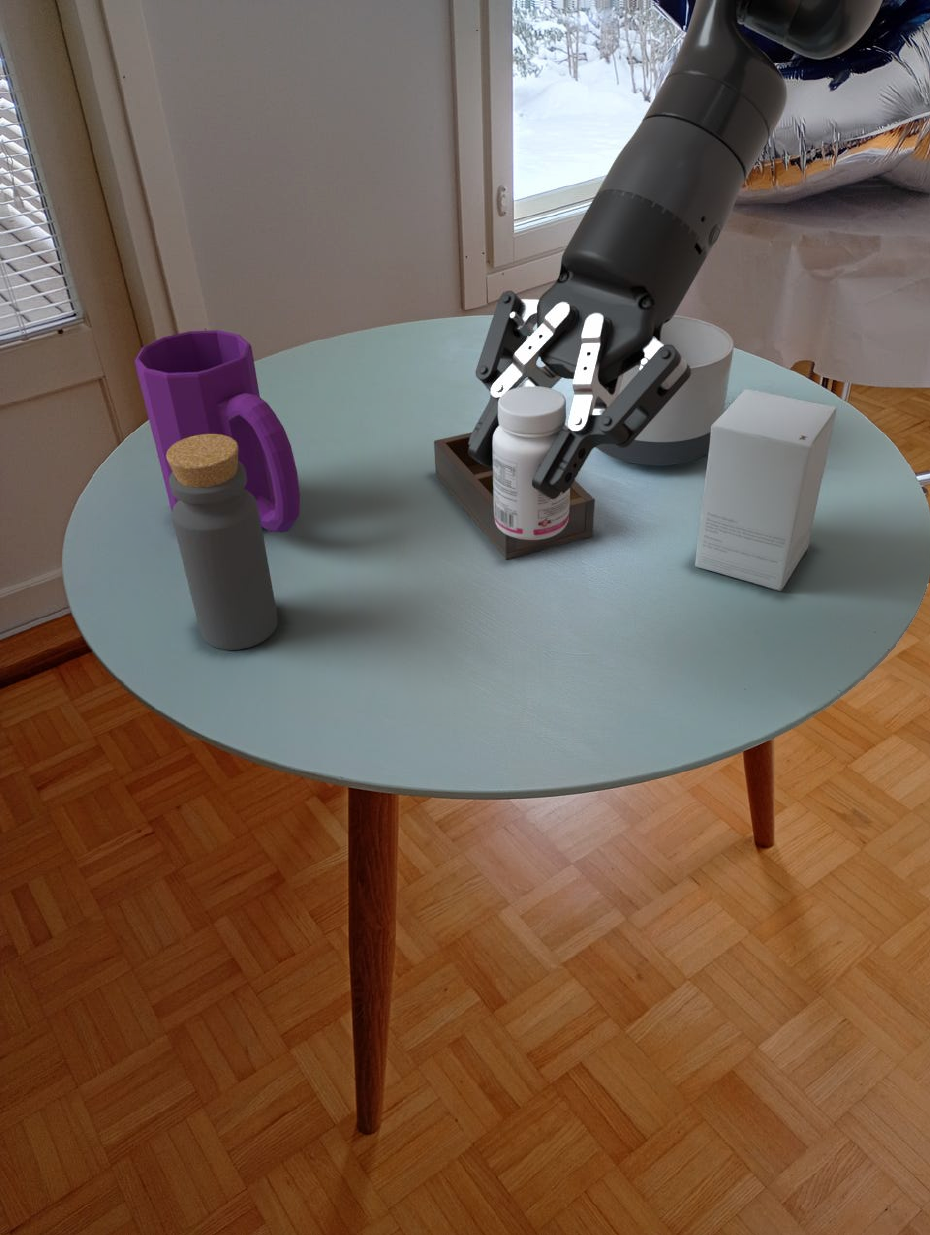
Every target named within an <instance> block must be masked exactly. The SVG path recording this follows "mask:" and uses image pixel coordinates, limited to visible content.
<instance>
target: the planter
mask: <svg viewBox="0 0 930 1235" xmlns="http://www.w3.org/2000/svg"><path fill="white" fill-rule="evenodd" d="M660 342H661V343H663V344H664V345H668V344H669V345H672V346H674V347H675V349H676V350H677V351H678V352H679V353H680V354H681V355H682V357H683V358H684V359H685V360H686V362H687V364H688V365H689V367H690V368H691V375H690V377H689V379H688V380H687V381H686V382H685V383H684V384H683V386H682V387H681V388H680V389H679V390H678V391H677V392H676V393H675V395H674V396H673V397H672V398H671V399H670V400H669V401H668V402H667V404H666V405H665V406H664V407H663V408H662V409H661V410H660V411H659V413H658V414H657V415H656V416H655V417H654V418H653V419H652V420H651V422H650V423H649V424H648V425H647V426H646V427H645V428H644V429H643V431H642V432H641V433H640V434H639V435H638V436H637V437H636V438H635V440H634V441H633V442H632V443H631V444H630V445H629V446H627V447H625V448H620V447H618V446H617V445H615V444H600V445H599V446H597V447H595V448H596V449H597V450H599V451H600V452H602V453H604V454H605V455H607V456H610V457H612V458H614V459H617V460H620V461H623V462H628V463H633V464H639V465H646V466H647V465H648V466H668V465H669V466H670V465H677V464H684V463H687V462H691V461H694V460H697V459H701V458H703V457H705V456H707V455H709V447H710V437H711V426H712V424H714V422H715V421H716V420H717V419H718V418H719V417H720V416H721V415H722V414H723V413H724V412H725V411H726V402H727V397H728V396H727V395H728V390H729V382H730V375H731V370H732V362H733V356H734V348H735V343H734V340H733V337H732V336H731V335H730V334H729V332H727V331H726V330H724V329H723V328H721V327H720V326H717V325H715V324H713V323H711V322H708V321H705V320H702V319H698V318H695V317H689V316H683V315H676V314H674V316H673V317H672V319H671V320H670V321H668V322H667V323H665V324H663V326H662V330H661V340H660ZM640 365H641V364H638V365H637V366H635V367H633V368H632V369H630V370H629V371H627V372H625V373H624V374H623V378H622V383H621V387H620V391H619V394H620V393H621V392H622V391H623V389H624V388H625V387H626V386H627V385H628V384H629V383H630V381H631V380H632V379H633V378H634V377H635V376H636V375H637V373H638V372H639V368H640Z"/></svg>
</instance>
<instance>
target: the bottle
mask: <svg viewBox="0 0 930 1235" xmlns="http://www.w3.org/2000/svg"><path fill="white" fill-rule="evenodd" d="M166 458H167V460H168V463H169V465H170V467H171V469H172V471H173V472H172V473H171V475H170V477H169V484H170V488H171V491H172V494H173V495H174V497H176V498H177V499H178V500H179V501H178V502H177V503H176V505H175V506H174V508H173V511H171V517H172V524H173V528H174V532H175V536H176V539H177V544H178V548H179V552H180V553H179V554H180V556H181V560H182V564H183V568H184V573H185V576H186V577H185V578H186V580H187V585H188V590H189V593H190V598H191V601H192V605H193V610H194V614H195V617H196V622H197V626H198V627H199V633H200V635H201V637H202V639H203V640H204V641H205V642H206V643H207V644H208V645H209V646H211V647H213V648H216V649H220V650H223V651H224V650H225V651H235V650H236V651H237V650H244V649H249V648H251V647H254V646H257V645H259V644H261V643H263V642H265V641H266V640H267V639H268V638H270V637H271V636H272V635H273V633H274V632H275V631H276V629H277V626H278V624H279V623H278V622H279V621H278V620H279V618H278V612H277V604H276V599H275V594H274V588H273V582H272V577H271V571H270V566H269V559H268V555H267V554H268V553H267V550H266V542H265V537H264V532H263V527H262V526H261V521H260V516H259V511H258V506H257V502H256V499H255V498H254V496H253V495H252V494H251V493H250V492H248V491H247V490H245V489H244V487H245V486H246V483H247V475H246V470H245V467H244V465H243V464H242V463H241V462H239V461H238V444H237V442H236V441H235V440H234V439H232V438H230V437H228V436H225V435H220V434H202V435H196V436H191V437H188V438H185V439H182V440H180V441H178V442H176V443H175V444H173V445H172V446H171V447H170V448H169V449H168V451H167V454H166Z"/></svg>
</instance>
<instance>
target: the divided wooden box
mask: <svg viewBox="0 0 930 1235" xmlns="http://www.w3.org/2000/svg"><path fill="white" fill-rule="evenodd" d="M471 433H472V431H471V432H467V433H462V434H458V435H453V436H449V437H445V438H440V439H435V440H433V451H434V452H433V453H434V466H435V467H434V469H435V476H436V478H437V479H438V480H439V481H440V483H442V485H443V486H444V487H445V488H446V490H447V491H448V492H449V493H450V494H451V495H452V496H453V498H454V499H455V500H456V502H458V504H459V505H460V507H461V508H462V509H463V510H464V511H465V512H466V513H467V515H468V516H469V517H470V518H471V519H472V521H473V522H474V523H475V524H476V525H477V527H478V528H479V529H480V530H481V532H482V533H483V534H484V535H485V536H486V537H487V539H488V540H489V541H490V543H491V544H492V545H493V546H494V547H495V548H496V549H497V550H498V552H499V553H500V555H502V557H503V558H504V559H505V560H510V559H513V558H517V557H520V556H524V555H528V554H531V553H535V552H538V551H542V550H547V549H550V548H553V547H557V546H560V545H564V544H569V543H572V542H575V541H578V540H582V539H586V538H591V537H593V536H594V535H593V534H594V518H595V502H596V500H595V498H594V497H593V496H592V495H591V494H590V493H589V492H588V491H587V490H585V488H583V487H582V486H581V484H579V483H578V482H577V481H576V479H575V480H574V482H573V484H572V486H571V487H570V505H569V519H568V523H567V525H566V526H565V528H564V529H563V530H562V531H561V532H560V533H558V534H556V535H554V536H552V537H549V538H546V539H540V540H525V539H518V538H514V537H511V536H508V535H506V534H504V533H503V532H502V531H501V530H500V529H499V528H498V527H497V525H496V523H495V518H494V492H493V467H491V468H489V467H486V466H484V465H482V464H480V463H479V462H477V461H476V460H475V459H473V458H472V457H470V456H469V454H468V448H469V446H470V445H469V444H468V443H469V438H470V435H471Z"/></svg>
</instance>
